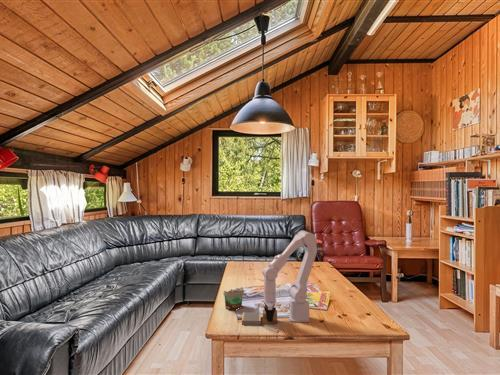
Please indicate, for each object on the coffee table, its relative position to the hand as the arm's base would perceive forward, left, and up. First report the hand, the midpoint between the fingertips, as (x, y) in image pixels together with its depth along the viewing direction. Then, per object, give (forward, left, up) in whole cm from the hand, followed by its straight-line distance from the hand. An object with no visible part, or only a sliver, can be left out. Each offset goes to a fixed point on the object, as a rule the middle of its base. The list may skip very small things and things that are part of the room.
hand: (269, 318), depth 160 cm
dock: (+9, -1, -1) cm, 9 cm away
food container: (+18, -16, -2) cm, 24 cm away
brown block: (0, 0, -2) cm, 2 cm away
